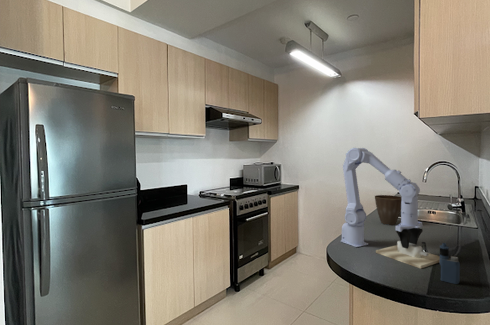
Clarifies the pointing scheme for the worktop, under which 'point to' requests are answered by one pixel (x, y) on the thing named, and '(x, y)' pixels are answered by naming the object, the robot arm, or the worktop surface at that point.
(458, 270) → the vaping device
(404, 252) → the usb connector
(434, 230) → the worktop surface
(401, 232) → the robot arm
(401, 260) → the wood pad
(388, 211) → the plant pot
